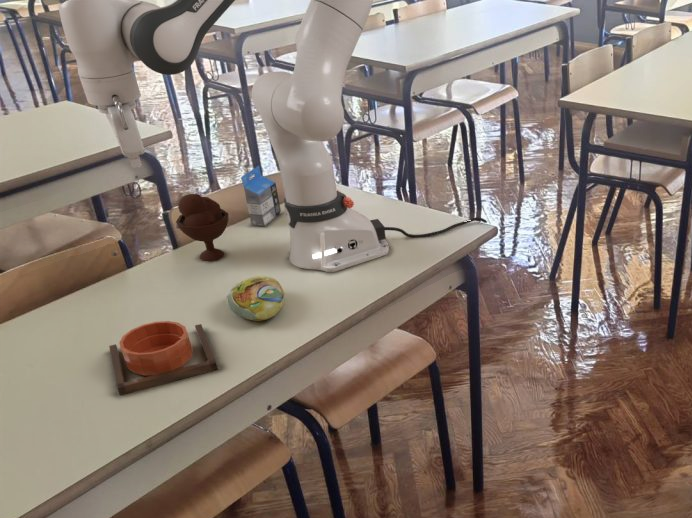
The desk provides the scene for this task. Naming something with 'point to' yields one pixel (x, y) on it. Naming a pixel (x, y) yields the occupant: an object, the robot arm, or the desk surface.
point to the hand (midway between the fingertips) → (136, 165)
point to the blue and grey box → (261, 198)
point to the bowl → (156, 348)
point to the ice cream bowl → (203, 223)
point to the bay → (166, 376)
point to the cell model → (256, 298)
